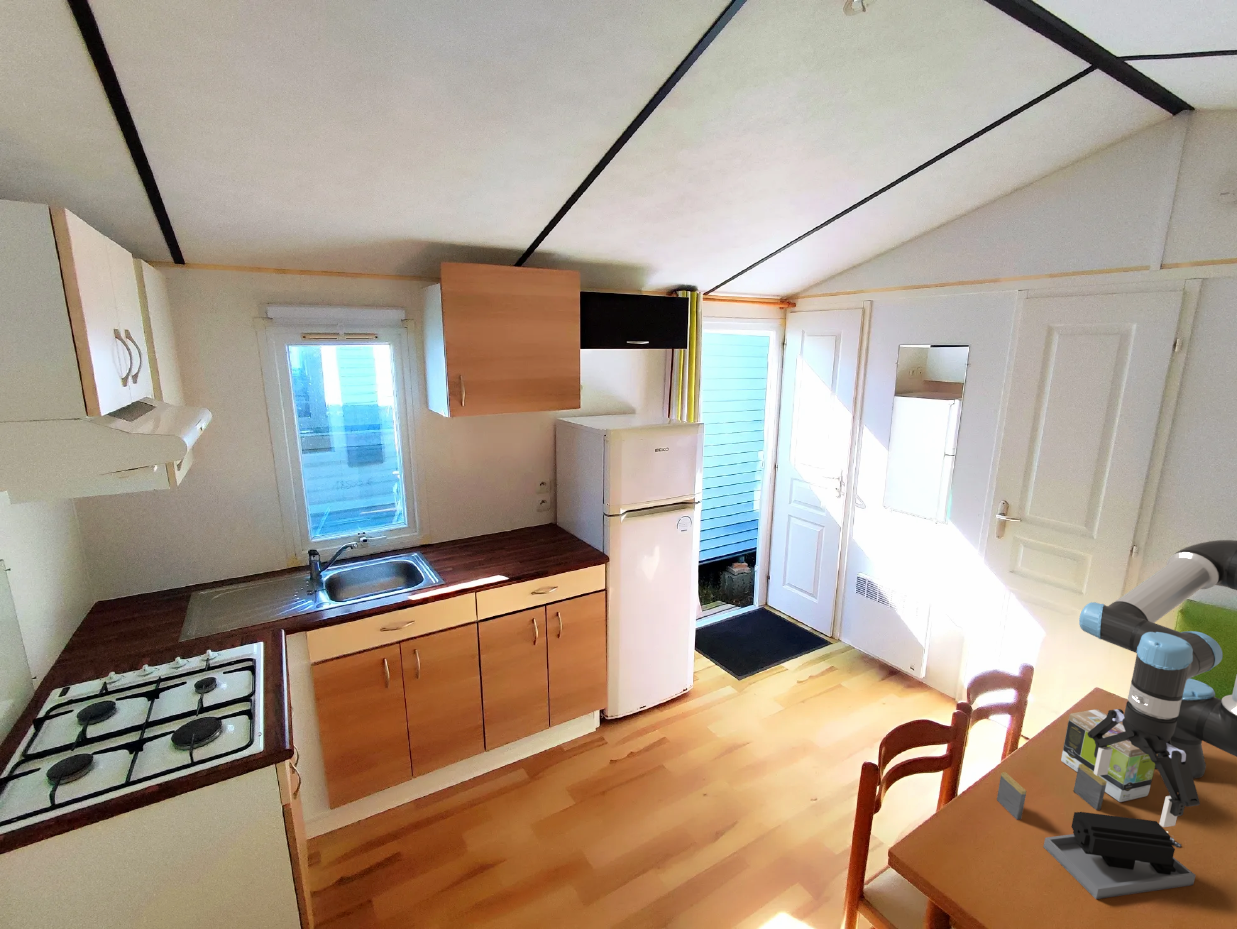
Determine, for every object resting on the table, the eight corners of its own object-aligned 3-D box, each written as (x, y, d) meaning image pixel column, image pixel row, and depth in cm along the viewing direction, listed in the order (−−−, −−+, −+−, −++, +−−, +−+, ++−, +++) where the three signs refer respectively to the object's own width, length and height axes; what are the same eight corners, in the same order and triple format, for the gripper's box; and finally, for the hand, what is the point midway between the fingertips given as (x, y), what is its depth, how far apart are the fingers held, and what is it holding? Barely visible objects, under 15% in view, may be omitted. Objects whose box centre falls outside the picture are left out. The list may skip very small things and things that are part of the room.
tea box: (1149, 796, 140) (1162, 744, 137) (1119, 803, 138) (1131, 751, 135) (1087, 754, 154) (1097, 707, 151) (1058, 760, 152) (1068, 712, 149)
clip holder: (1077, 790, 142) (1083, 763, 140) (1100, 809, 136) (1106, 781, 134) (996, 799, 138) (1001, 772, 137) (1016, 819, 133) (1021, 791, 131)
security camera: (1183, 885, 116) (1193, 844, 114) (1083, 871, 119) (1092, 831, 117) (1157, 856, 123) (1167, 817, 121) (1063, 843, 126) (1071, 805, 124)
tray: (1132, 835, 129) (1135, 826, 128) (1193, 885, 117) (1195, 875, 116) (1043, 846, 125) (1045, 837, 125) (1095, 899, 114) (1098, 889, 113)
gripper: (1077, 674, 125) (1062, 757, 129) (1207, 754, 101) (1182, 852, 105) (1107, 671, 126) (1090, 753, 130) (1242, 750, 102) (1216, 847, 106)
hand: (1131, 798), depth 118 cm, fingers open, 13 cm apart
